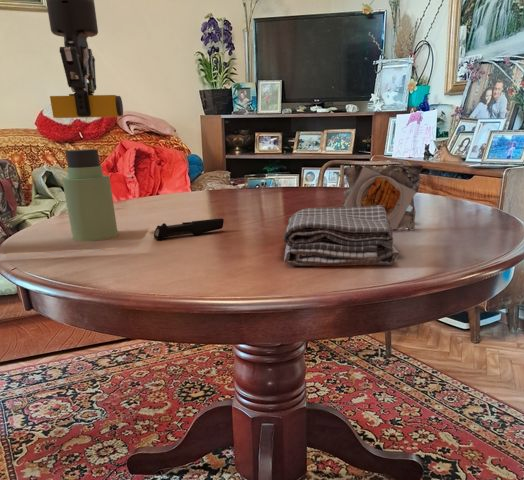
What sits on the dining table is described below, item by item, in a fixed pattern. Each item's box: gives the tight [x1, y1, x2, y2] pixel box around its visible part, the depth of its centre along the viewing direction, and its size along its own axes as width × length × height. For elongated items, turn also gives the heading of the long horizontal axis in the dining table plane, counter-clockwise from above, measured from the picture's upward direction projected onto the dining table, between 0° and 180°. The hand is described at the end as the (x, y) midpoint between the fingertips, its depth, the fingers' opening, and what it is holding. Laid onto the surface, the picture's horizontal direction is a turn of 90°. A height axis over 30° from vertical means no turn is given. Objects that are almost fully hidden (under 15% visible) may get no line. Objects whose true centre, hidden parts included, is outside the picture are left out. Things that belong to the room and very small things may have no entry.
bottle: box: [61, 148, 119, 242], centre depth 102 cm, size 9×9×18 cm
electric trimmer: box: [153, 217, 225, 241], centre depth 109 cm, size 4×16×3 cm, turn 117°
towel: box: [282, 205, 399, 267], centre depth 87 cm, size 15×18×8 cm
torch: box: [49, 93, 124, 119], centre depth 90 cm, size 12×3×4 cm, turn 94°
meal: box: [341, 164, 424, 230], centre depth 105 cm, size 15×4×13 cm, turn 90°
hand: (87, 116), depth 90 cm, fingers closed on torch, 3 cm apart
